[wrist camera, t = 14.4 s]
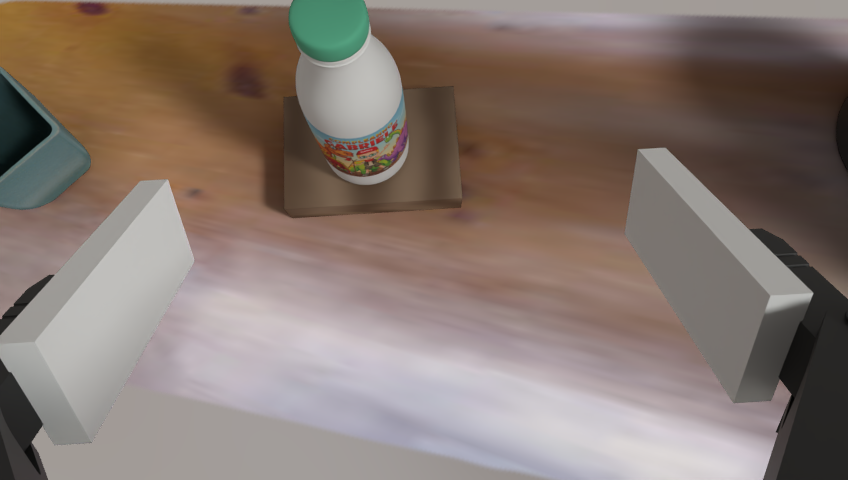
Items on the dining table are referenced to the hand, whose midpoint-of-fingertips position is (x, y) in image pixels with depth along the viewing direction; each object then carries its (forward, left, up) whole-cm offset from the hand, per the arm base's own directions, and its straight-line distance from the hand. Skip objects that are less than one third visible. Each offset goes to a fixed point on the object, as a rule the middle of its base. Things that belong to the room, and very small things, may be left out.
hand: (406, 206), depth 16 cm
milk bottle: (+4, -16, -33) cm, 37 cm away
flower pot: (+35, -17, -36) cm, 53 cm away
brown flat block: (+4, -16, -36) cm, 39 cm away
